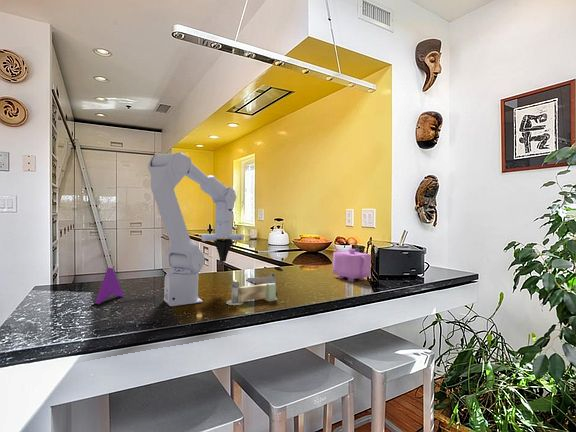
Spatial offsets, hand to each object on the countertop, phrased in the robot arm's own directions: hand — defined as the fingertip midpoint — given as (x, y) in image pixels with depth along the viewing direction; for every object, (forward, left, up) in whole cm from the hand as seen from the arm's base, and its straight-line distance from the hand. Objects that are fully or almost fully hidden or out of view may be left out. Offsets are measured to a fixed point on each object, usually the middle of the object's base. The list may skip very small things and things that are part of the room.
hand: (222, 261), depth 115 cm
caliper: (+15, 0, -10) cm, 18 cm away
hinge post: (-3, -17, -10) cm, 20 cm away
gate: (+4, -17, -9) cm, 20 cm away
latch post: (+9, -19, -10) cm, 23 cm away
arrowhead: (-34, +4, -10) cm, 36 cm away
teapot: (+55, -5, -10) cm, 56 cm away
